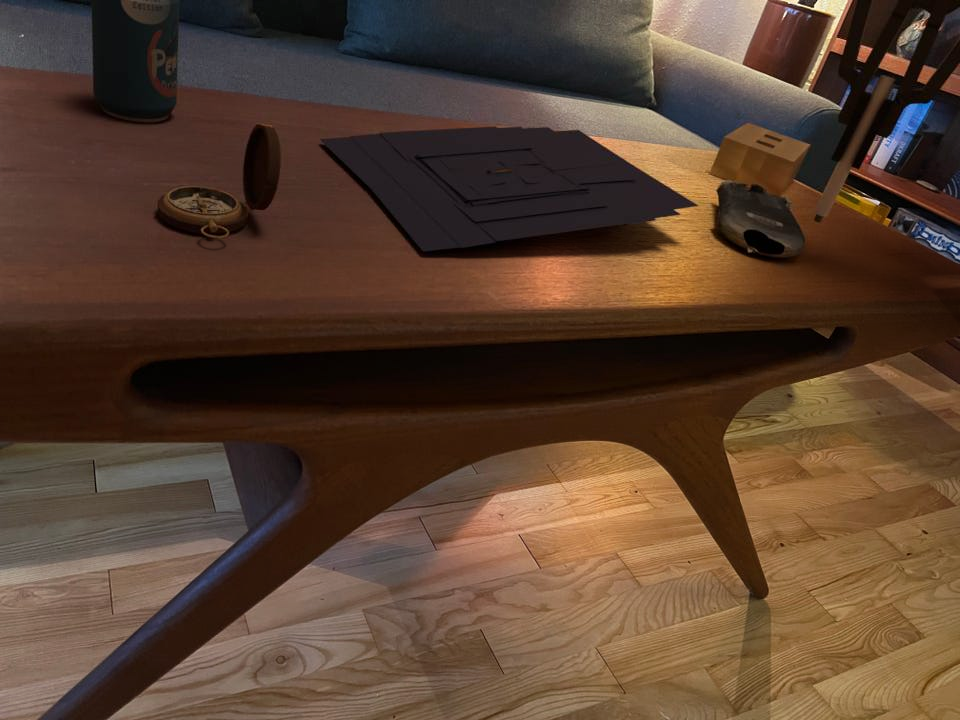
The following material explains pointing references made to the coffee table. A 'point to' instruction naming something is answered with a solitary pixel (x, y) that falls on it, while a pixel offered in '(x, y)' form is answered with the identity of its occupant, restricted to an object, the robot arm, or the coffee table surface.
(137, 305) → the coffee table surface
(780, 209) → the electronic device
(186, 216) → the compass
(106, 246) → the coffee table surface
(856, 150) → the stylus
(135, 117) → the soda can
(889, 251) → the coffee table surface
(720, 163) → the pen holder
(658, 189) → the papers
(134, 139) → the coffee table surface
